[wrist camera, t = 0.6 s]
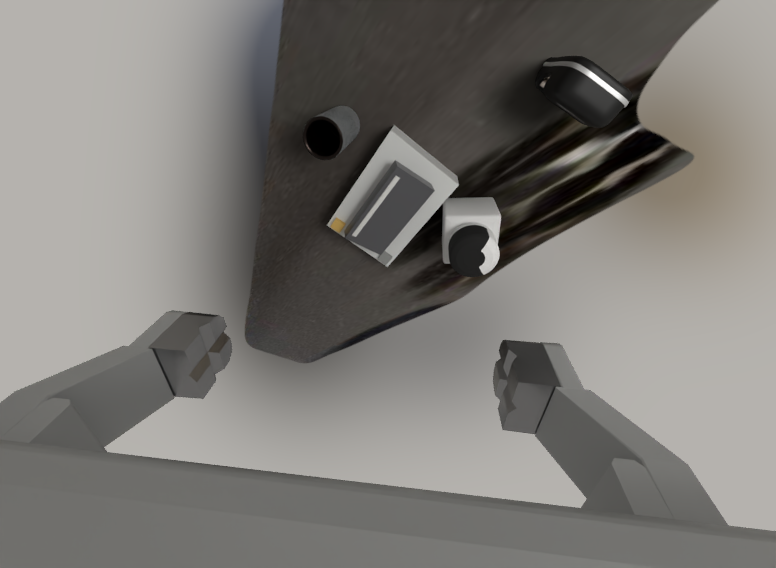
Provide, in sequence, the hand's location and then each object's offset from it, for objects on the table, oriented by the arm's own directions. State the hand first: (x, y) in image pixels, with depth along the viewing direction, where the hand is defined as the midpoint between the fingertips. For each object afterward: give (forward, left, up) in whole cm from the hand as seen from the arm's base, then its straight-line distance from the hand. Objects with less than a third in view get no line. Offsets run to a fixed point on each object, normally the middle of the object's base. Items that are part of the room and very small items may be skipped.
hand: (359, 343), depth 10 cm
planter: (+6, -8, -42) cm, 43 cm away
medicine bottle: (+6, +14, -42) cm, 44 cm away
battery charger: (-13, +11, -42) cm, 45 cm away
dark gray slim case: (+10, +3, -36) cm, 37 cm away
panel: (+10, +3, -42) cm, 43 cm away
